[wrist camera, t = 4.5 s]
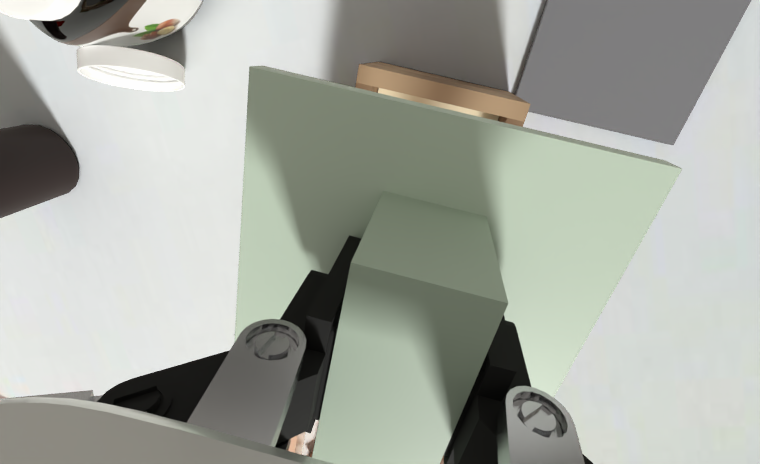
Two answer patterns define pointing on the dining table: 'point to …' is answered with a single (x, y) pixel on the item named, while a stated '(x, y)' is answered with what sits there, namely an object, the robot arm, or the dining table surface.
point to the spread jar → (113, 36)
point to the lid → (429, 248)
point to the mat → (626, 62)
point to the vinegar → (33, 167)
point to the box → (442, 92)
